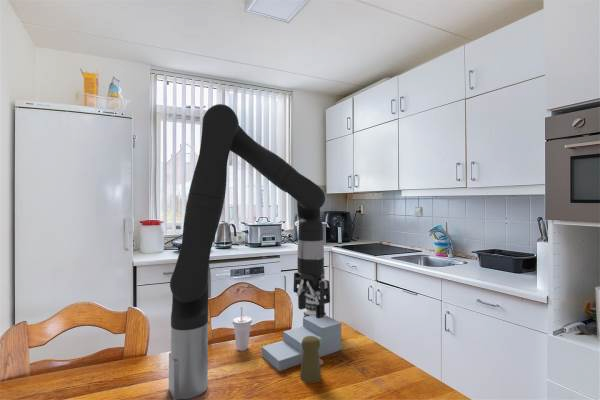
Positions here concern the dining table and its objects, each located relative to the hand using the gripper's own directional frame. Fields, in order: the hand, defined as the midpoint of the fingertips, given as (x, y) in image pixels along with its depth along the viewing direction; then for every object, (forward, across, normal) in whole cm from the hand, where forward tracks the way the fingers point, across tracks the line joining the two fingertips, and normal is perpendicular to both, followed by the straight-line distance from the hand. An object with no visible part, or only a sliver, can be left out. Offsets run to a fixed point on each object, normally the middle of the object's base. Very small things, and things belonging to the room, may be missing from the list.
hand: (310, 313), depth 89 cm
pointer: (+18, -5, +6) cm, 20 cm away
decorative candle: (+18, -25, +20) cm, 37 cm away
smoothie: (+18, -27, -9) cm, 34 cm away
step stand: (+18, -13, +6) cm, 23 cm away
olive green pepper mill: (+18, 0, 0) cm, 18 cm away
